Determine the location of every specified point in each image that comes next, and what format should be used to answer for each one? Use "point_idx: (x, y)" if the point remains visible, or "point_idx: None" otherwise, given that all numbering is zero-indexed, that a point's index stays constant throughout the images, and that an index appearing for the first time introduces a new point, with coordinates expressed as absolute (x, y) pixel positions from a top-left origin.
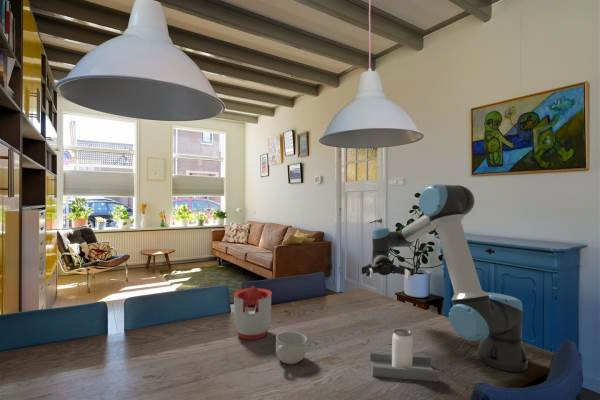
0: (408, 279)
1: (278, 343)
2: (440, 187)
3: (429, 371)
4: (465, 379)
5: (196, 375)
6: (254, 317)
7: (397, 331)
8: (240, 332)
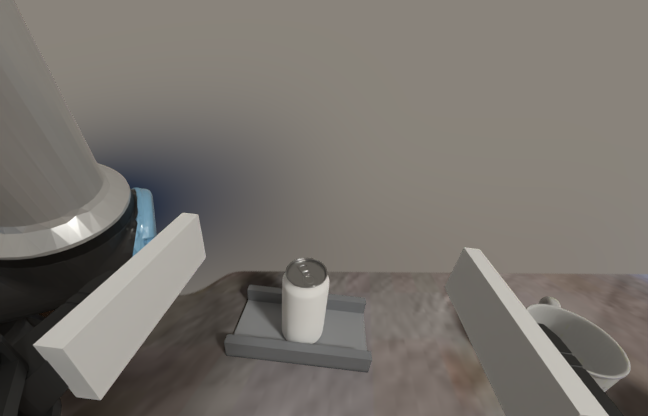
0: (203, 256)
1: (576, 319)
2: None
3: (265, 286)
4: (193, 303)
5: (629, 309)
6: None
7: (316, 282)
8: None
